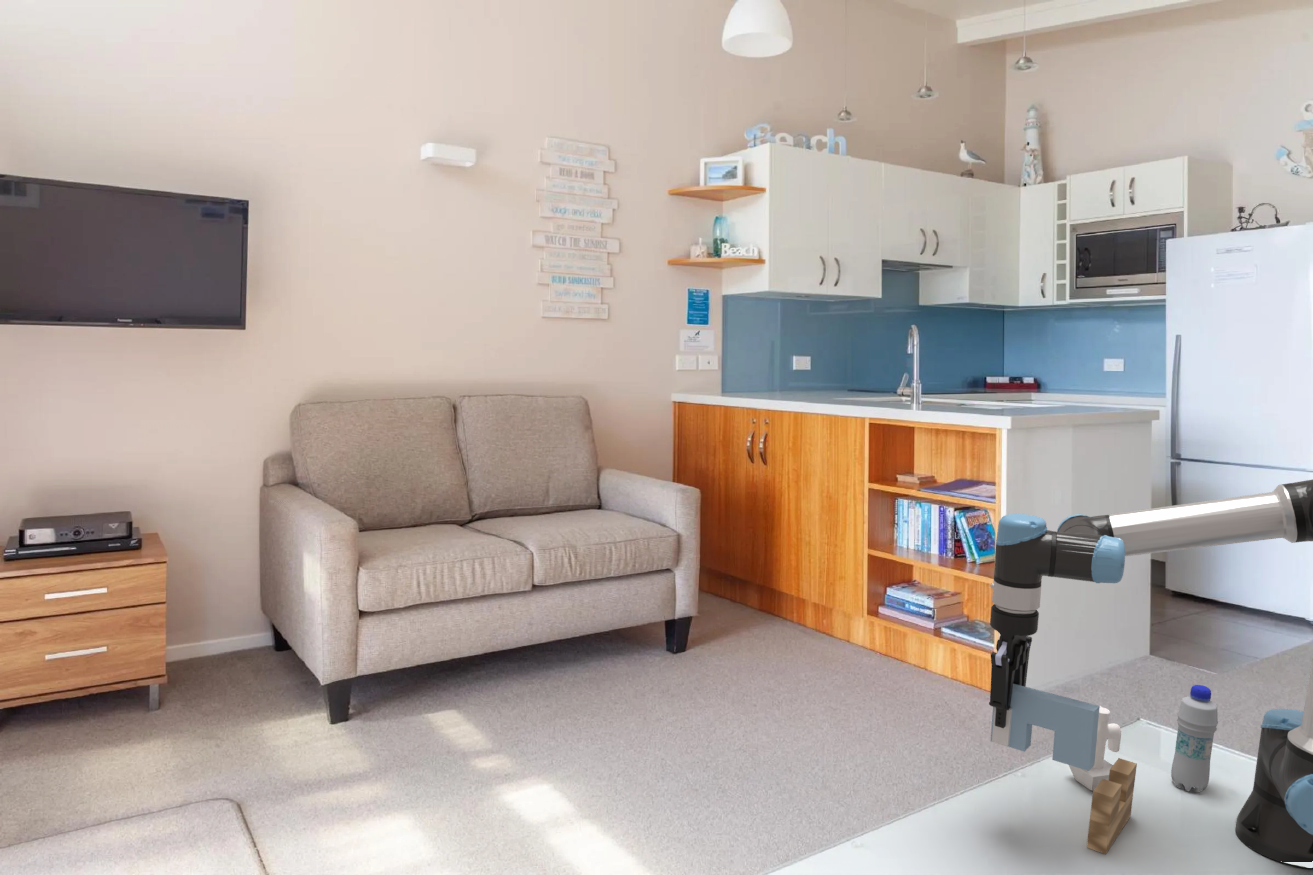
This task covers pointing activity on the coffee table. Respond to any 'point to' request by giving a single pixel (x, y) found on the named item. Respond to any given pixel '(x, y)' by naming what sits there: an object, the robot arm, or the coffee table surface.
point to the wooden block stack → (1111, 806)
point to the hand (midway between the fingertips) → (1004, 739)
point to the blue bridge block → (1055, 724)
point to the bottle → (1194, 739)
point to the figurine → (1100, 752)
